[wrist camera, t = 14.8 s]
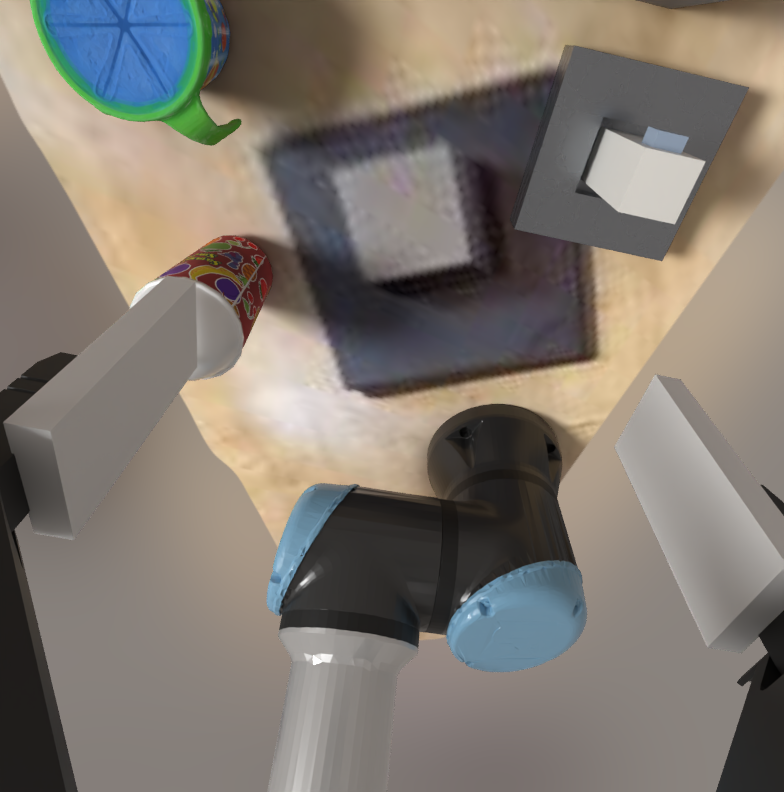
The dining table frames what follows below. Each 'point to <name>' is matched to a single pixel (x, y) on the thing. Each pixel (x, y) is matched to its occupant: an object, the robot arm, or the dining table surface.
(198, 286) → the smoothie
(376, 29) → the dining table surface
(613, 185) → the plug
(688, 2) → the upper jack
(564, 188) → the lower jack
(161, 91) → the snack cup
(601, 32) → the dining table surface
